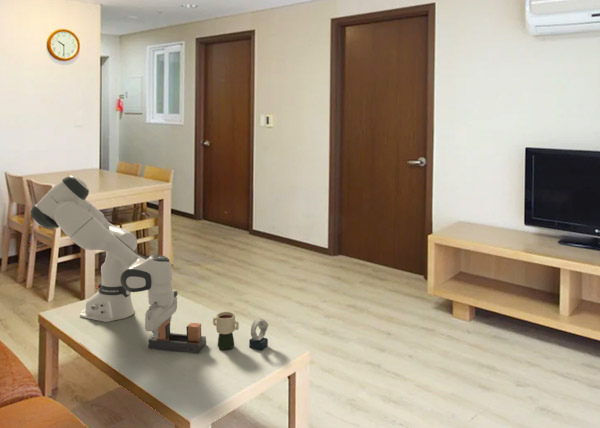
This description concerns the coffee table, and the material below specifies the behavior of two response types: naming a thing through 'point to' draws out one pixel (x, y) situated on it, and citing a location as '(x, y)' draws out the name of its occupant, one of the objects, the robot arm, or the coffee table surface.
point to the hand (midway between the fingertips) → (162, 332)
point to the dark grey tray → (181, 341)
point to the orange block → (164, 331)
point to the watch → (259, 341)
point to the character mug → (225, 329)
